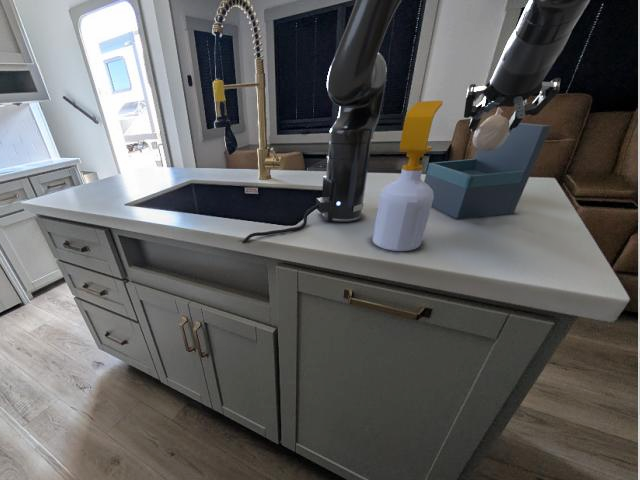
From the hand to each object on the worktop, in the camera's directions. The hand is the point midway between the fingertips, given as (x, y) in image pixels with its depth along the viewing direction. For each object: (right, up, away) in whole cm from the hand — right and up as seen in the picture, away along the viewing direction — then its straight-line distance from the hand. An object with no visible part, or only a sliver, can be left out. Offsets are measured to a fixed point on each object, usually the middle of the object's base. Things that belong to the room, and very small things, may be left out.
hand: (491, 127), depth 66 cm
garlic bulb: (0, -5, +1) cm, 5 cm away
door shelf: (+2, -13, +12) cm, 18 cm away
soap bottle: (-21, -25, -2) cm, 33 cm away
